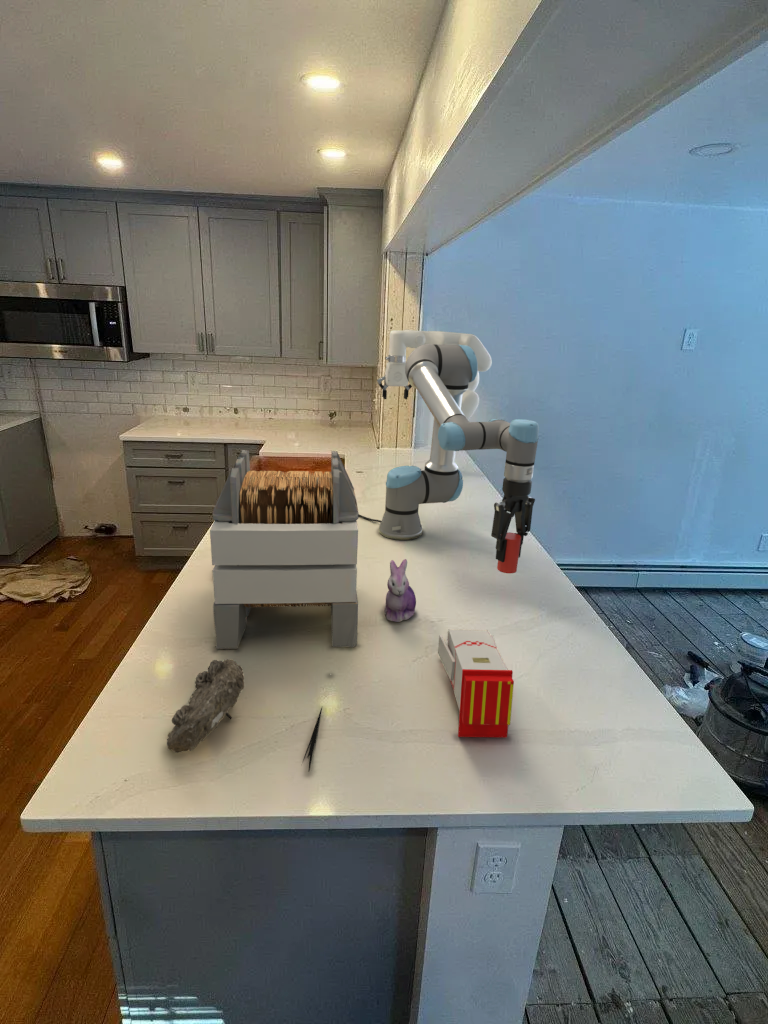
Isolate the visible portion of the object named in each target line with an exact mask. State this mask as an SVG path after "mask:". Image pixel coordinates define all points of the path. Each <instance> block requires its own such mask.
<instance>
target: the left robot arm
mask: <svg viewBox="0 0 768 1024" xmlns="http://www.w3.org/2000/svg"><path fill="white" fill-rule="evenodd" d="M405 363H406V365H405V374H406V377H407V380H408V384H410V385H411V386H412V387H411V388H413V389H416V390H417V391H418V393H419V395H420V397H421V398H422V400H423V401H424V403H425V405H426V407H427V409H428V410H429V412H430V414H431V415H432V417H433V425H432V434H431V443H430V454H429V460H427V461H426V462H425V463H424V468H423V470H422V469H421V467H419V466H416V465H401V466H397V467H393V468H391V469H390V470H389V471H388V472H387V475H386V480H385V481H386V482H385V504H384V505H385V507H384V508H385V509H384V513H383V515H382V519H381V520H380V519H375V518H370V517H367V516H365V515H362V514H359V516H358V518H361V519H365V520H366V521H367V520H368V521H370V522H375V523H379V525H378V533H379V534H380V535H381V536H382V537H385V538H387V539H389V540H395V541H410V540H415V539H418V538H420V537H421V536H422V535H423V525H422V524H421V518H420V515H419V507H420V506H419V505H423V504H439V503H440V504H441V503H443V504H445V503H449V502H450V503H451V502H454V501H456V500H457V499H458V498H459V497H460V496H461V493H462V491H463V488H464V480H463V477H464V476H463V473H462V471H461V470H460V469H459V466H458V464H457V463H456V461H455V460H456V453H457V452H461V451H479V450H482V451H483V450H501V451H504V452H505V453H506V454H505V462H504V471H503V477H504V478H503V479H502V480H503V481H502V487H501V490H502V493H503V497H502V499H501V501H500V502H494V504H493V508H494V514H493V520H492V528H491V535H490V536H491V537H492V538H494V539H496V542H495V550H496V551H495V559H496V560H497V561H498V560H499V561H501V562H504V561H505V553H506V545H507V540H506V539H505V537H506V534H507V532H509V529H510V526H511V525H510V524H511V522H512V519H513V518H514V521H515V531H516V532H515V533H516V534H518V535H520V536H521V542H520V550H519V557H518V559H520V558H521V554H522V546H523V544H524V537H527V536H528V534H529V532H530V531H531V527H532V518H533V508H534V505H535V501H536V499H535V498H534V497H532V496H529V495H530V494H531V493H532V485H533V481H532V480H533V476H534V468H535V462H536V457H537V450H538V443H539V437H540V436H539V431H540V425H539V423H538V422H537V421H534V420H530V419H521V418H519V419H518V418H517V419H513V420H511V421H510V422H509V421H507V420H505V419H502V418H501V419H500V418H492V419H490V420H488V421H470V420H469V421H468V420H467V418H466V417H465V415H464V414H463V412H462V411H461V403H462V395H463V393H464V392H465V391H466V390H467V389H468V384H469V382H472V381H474V380H475V377H476V376H477V371H478V364H477V358H476V355H475V353H474V351H473V350H472V348H470V347H469V346H466V345H459V344H425V345H421V346H419V347H417V348H414V349H413V350H412V351H411V352H410V353H409V355H408V357H407V358H406V362H405ZM501 534H502V535H501Z"/></svg>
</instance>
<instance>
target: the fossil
mask: <svg viewBox="0 0 768 1024" xmlns="http://www.w3.org/2000/svg"><path fill="white" fill-rule="evenodd" d="M243 670H244V669H243V667H242V665H240V664H237V662H236V661H235V660H234V659H232V658H231V659H227V658H226V659H224V660H223V661H222V660H217V659H212V660H211V661H210V663H209V665H208V666H207V671H201V672H199V673H198V674H197V675H196V676H195V680H194V684H195V685H194V687H195V689H194V690H193V693H192V694H191V697H190V698H189V700H188V704H184V705H182V706H181V707H180V709H177V710H176V711H175V713H174V715H173V716H172V718H171V723H172V724H173V727H172V730H171V731H170V732H168V734H167V738H166V741H167V742H166V745H167V749H168V750H169V751H173V752H174V753H176V754H178V753H182V752H188V751H189V752H192V751H193V750H195V748H196V747H197V746H199V744H200V743H201V742H203V741H204V740H205V739H206V738H207V737H208V736H209V735H210V734H211V733H212V732H214V730H215V729H217V727H218V726H219V724H220V722H221V721H222V720H223V719H224V718H225V716H226V717H227V719H229V720H233V717H232V715H230V714H229V710H230V709H231V708H234V706H235V704H236V703H237V702H238V699H239V697H240V695H241V693H242V691H243V690H245V689H244V688H245V675H244V671H243Z"/></svg>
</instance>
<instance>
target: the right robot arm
mask: <svg viewBox="0 0 768 1024" xmlns="http://www.w3.org/2000/svg"><path fill="white" fill-rule="evenodd" d="M388 341H389V344H388V355H387V356H385V358H384V359H385V360H386V361H387V362H386V364H385V365H386V366H385V370H384V375H383V376H381V377H379V378H378V379H376V382H377V384H378V386H379V388H380V389H381V390H382V391H381V396H382V398H383V399H384V400H387V395H388V393H387V392H388V390H387V388H388V387H403V388H404V390H403V399H405V400H408V398H409V391H410V390H411V389H412V388H413V387H412V386H411V385H410V383H409V381H408V380H407V377H406V374H405V365H406V361H407V348H410V349H416V348H417V347H419V346H421V345H425V344H459V345H466V346H469V347H470V348H472V350H473V351H474V353H475V355H476V358H477V364H478V371H477V376H476V377H475V380H474V381H472V382H469V384H468V389H467V390H466V391H465V392H464V393H463V395H462V403H461V411H462V412H463V414H464V415H465V417H466V418H467V420H468V421H469V422H470V419H471V418H472V416H473V415H474V414H475V412H476V411H477V409H478V407H479V404H480V396H479V394H478V393H477V392H476V389H477V388H478V386H479V384H480V373H481V372H482V373H483V372H484V373H485V372H487V371H489V370H490V368H491V367H492V365H493V361H492V360H493V359H492V356H491V354H490V352H489V351H488V349H487V348H486V347H485V346H484V344H483V343H482V341H481V340H480V339H479V337H478V336H476V335H475V334H472V333H465V332H452V331H443V330H416V329H415V330H414V329H403V330H401V329H400V330H398V329H394V330H393V329H392V330H390V332H389V340H388ZM479 372H480V373H479ZM383 381H384V384H382V382H383Z"/></svg>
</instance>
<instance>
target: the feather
mask: <svg viewBox="0 0 768 1024" xmlns="http://www.w3.org/2000/svg"><path fill="white" fill-rule="evenodd" d="M329 675H330V676H331V675H332V674H331V673H330V674H329ZM322 710H323V707H321V708H320V710H319V713H318V716H317V719H316V723H315V725H314V728H313V731H312V733H311V737H310V739H309V742H308V745H307V748H306V751H305V754H304V757H303V760H302V763H301V767H302V765H303V763H304V761H305V758H308V759H309V760H308V762H307V763H308V764H307V766H308V771H310V770H311V766H312V765H311V764H312V760H313V757H315V756H314V755H315V751H316V749H315V746H317V739H318V733H319V729H320V722H321V717H322V712H323V711H322ZM313 754H314V755H313ZM306 755H307V757H306Z"/></svg>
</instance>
